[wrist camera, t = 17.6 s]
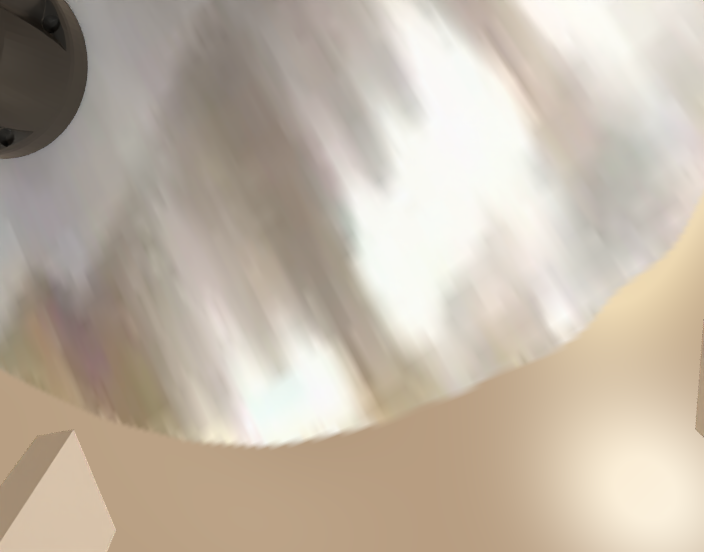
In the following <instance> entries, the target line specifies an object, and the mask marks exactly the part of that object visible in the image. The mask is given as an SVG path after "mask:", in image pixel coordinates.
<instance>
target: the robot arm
mask: <svg viewBox="0 0 704 552" xmlns="http://www.w3.org/2000/svg"><path fill="white" fill-rule="evenodd" d="M87 64H88V63H87V52H86V46H85V41H84V38H83V34H82V31H81V29H80V26H79V24H78V22H77V20H76V18H75V16H74V14H73V12H72V11H71V9H70V8H69V6H68V5H67V4H66V2H65V1H64V0H0V159H9V158H17V157H22V156H25V155H29V154H31V153H34V152H36V151H38V150H40V149H42V148H44V147H45V146H47V145H48V144H50V143H51V142H52V141H54V140H55V139H56V138H57V137H58V136H59V135H60V134H61V133H62V132H63V131H64V130H65V129H66V128H67V126H68V125H69V124H70V122H71V121H72V119H73V118H74V116H75V114H76V112H77V110H78V108H79V106H80V103H81V101H82V98H83V95H84V91H85V86H86V81H87ZM695 429H696V430H697V431H698V432H699V433H700V434H701V435H702V436H703V437H704V322H703V334H702V348H701V362H700V374H699V389H698V401H697V415H696V428H695ZM115 531H116V529H115V527H114V524H113V522H112V520H111V517H110V515H109V513H108V510H107V508H106V506H105V503H104V500H103V498H102V496H101V493H100V491H99V489H98V486H97V484H96V482H95V479H94V477H93V474H92V472H91V469H90V467H89V465H88V463H87V460H86V458H85V455H84V453H83V450H82V448H81V446H80V443H79V441H78V438H77V436H76V434H75V431H74V430H68V431H62V432H57V433H51V434H46V435H39V436H37V437H36V438H35V439H34V441H33V442H32V443H31V445H30V446H29V448H28V449H27V451H26V452H25V453H24V454H23V456H22V457H21V458H20V460H19V461H18V462H17V464H16V465H15V467H14V468H13V469H12V470H11V472H10V473H9V475H8V476H7V477H6V479H5V480H4V481H3V483H2V484H1V485H0V552H107V550H108V548H109V546H110V543H111V541H112V538H113V536H114V534H115Z"/></svg>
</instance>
